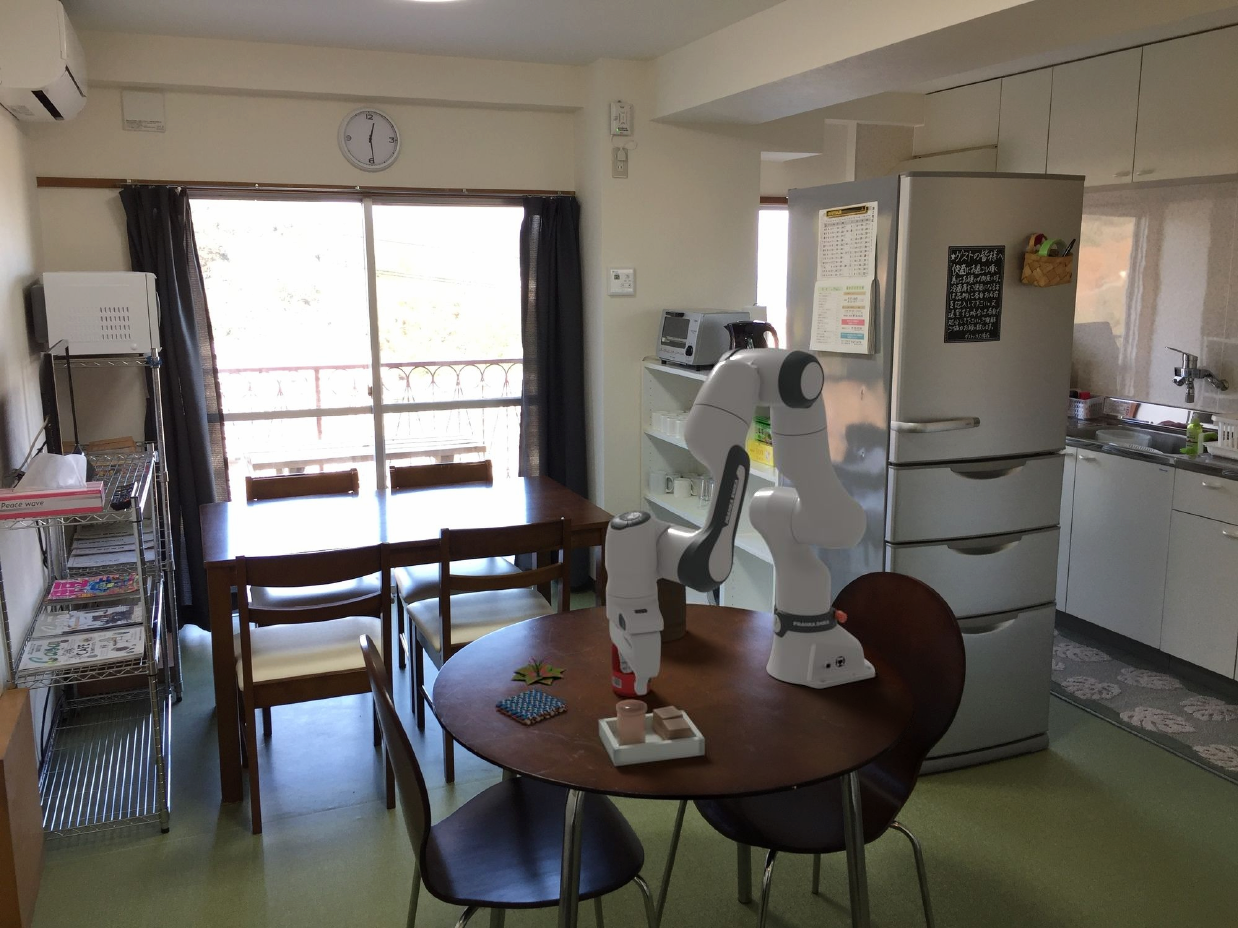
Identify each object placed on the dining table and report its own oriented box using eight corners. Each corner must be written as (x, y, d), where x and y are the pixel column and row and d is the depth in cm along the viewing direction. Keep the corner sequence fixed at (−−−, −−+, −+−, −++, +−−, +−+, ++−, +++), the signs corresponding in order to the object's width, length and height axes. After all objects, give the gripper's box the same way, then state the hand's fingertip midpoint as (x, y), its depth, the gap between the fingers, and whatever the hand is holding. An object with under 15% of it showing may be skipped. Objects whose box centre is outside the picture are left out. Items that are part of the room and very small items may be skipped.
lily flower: (500, 684, 198) (499, 663, 197) (523, 663, 209) (523, 643, 208) (554, 691, 194) (554, 670, 194) (575, 670, 206) (575, 649, 205)
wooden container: (656, 617, 237) (657, 530, 234) (698, 633, 226) (700, 542, 222) (610, 630, 228) (609, 540, 224) (651, 648, 217) (652, 553, 213)
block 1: (672, 726, 176) (672, 705, 176) (682, 735, 173) (683, 714, 172) (652, 730, 175) (653, 709, 174) (662, 739, 171) (663, 718, 170)
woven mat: (570, 711, 185) (570, 701, 185) (526, 728, 178) (526, 718, 178) (536, 695, 193) (536, 686, 192) (492, 711, 185) (492, 701, 185)
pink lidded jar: (612, 738, 172) (612, 701, 170) (642, 734, 173) (642, 698, 172) (620, 752, 166) (620, 714, 165) (650, 748, 168) (650, 710, 166)
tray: (682, 724, 178) (683, 709, 178) (704, 754, 167) (704, 738, 166) (598, 734, 174) (598, 719, 174) (614, 765, 163) (614, 749, 162)
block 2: (683, 738, 171) (683, 717, 171) (690, 748, 168) (691, 727, 167) (662, 741, 170) (662, 720, 170) (668, 751, 167) (668, 729, 166)
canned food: (647, 699, 190) (647, 645, 188) (607, 695, 191) (607, 643, 189) (654, 683, 197) (654, 632, 195) (615, 680, 199) (615, 629, 197)
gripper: (600, 589, 174) (602, 661, 177) (629, 628, 155) (630, 708, 158) (633, 586, 176) (635, 657, 179) (666, 624, 156) (667, 703, 159)
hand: (633, 681), depth 168 cm, fingers open, 8 cm apart
